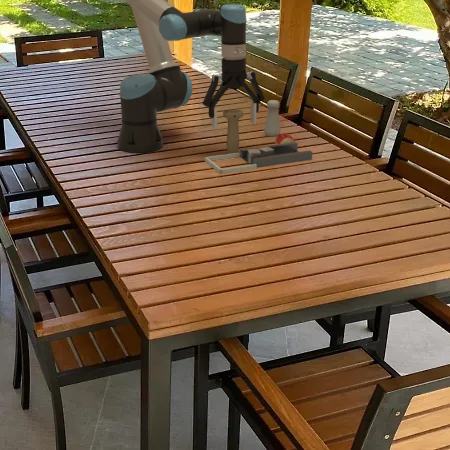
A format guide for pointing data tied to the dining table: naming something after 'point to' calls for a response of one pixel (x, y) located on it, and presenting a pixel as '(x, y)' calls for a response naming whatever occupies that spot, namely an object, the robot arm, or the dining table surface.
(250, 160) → the pale grey cube
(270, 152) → the pale beige cube
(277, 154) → the rail
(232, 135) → the handle
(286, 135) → the ladybug figurine
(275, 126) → the salt shaker
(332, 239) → the dining table surface
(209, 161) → the tray
